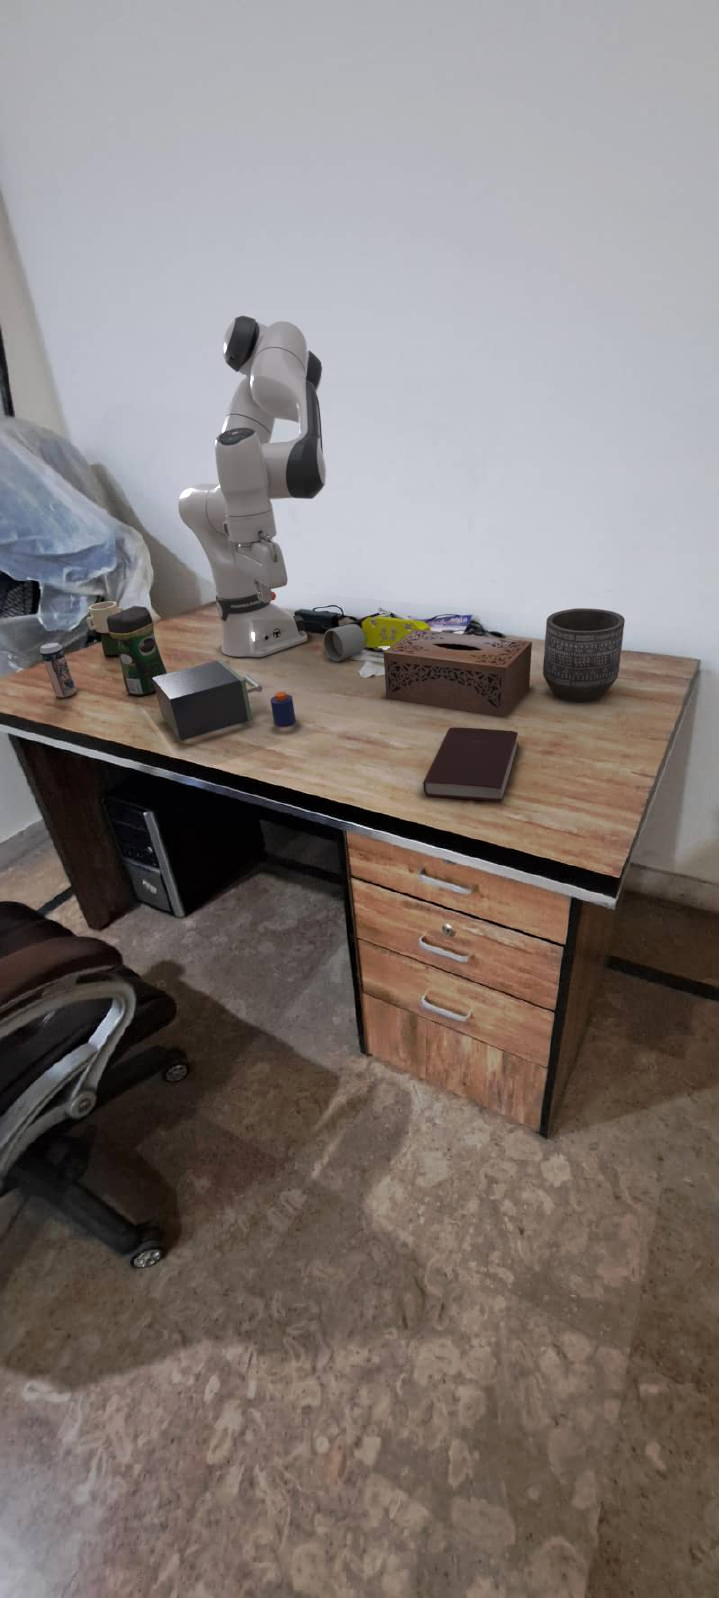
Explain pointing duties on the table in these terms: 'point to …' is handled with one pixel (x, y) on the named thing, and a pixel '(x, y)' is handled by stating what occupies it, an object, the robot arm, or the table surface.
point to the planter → (582, 653)
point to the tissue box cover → (458, 671)
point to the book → (472, 764)
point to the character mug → (103, 623)
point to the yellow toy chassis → (388, 630)
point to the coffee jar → (136, 649)
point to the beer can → (58, 669)
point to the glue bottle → (283, 709)
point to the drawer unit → (200, 699)
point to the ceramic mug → (344, 641)
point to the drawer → (245, 691)
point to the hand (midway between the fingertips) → (265, 600)
